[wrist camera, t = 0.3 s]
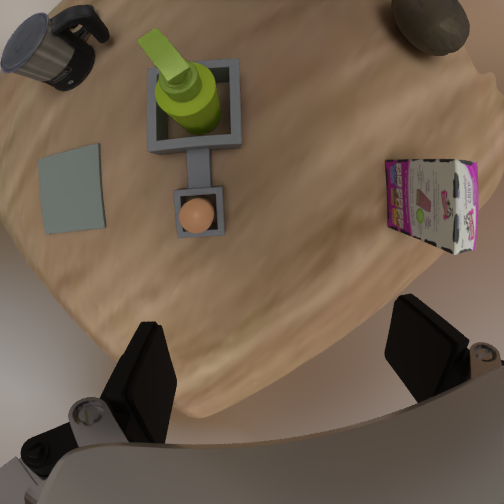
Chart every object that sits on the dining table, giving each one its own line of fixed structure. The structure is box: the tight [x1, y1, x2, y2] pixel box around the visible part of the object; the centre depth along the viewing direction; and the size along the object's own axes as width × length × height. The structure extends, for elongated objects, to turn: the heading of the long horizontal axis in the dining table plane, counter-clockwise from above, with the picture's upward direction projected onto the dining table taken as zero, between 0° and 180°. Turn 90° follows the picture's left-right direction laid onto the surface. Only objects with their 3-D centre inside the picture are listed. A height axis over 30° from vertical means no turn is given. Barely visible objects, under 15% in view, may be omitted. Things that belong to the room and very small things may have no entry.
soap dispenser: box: [137, 28, 221, 135], centre depth 24 cm, size 6×7×20 cm
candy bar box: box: [385, 159, 478, 255], centre depth 31 cm, size 11×5×16 cm, turn 7°
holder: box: [147, 58, 242, 238], centre depth 33 cm, size 23×11×6 cm, turn 2°
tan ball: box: [179, 197, 215, 233], centre depth 33 cm, size 4×4×3 cm
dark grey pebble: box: [392, 0, 470, 56], centre depth 23 cm, size 14×14×15 cm
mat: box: [38, 143, 106, 234], centre depth 35 cm, size 13×13×1 cm
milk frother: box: [0, 5, 110, 91], centre depth 21 cm, size 14×16×15 cm
